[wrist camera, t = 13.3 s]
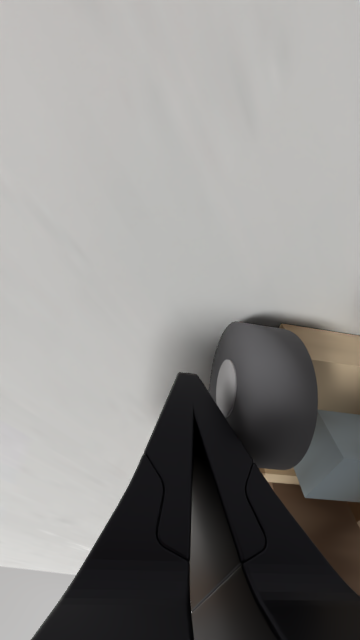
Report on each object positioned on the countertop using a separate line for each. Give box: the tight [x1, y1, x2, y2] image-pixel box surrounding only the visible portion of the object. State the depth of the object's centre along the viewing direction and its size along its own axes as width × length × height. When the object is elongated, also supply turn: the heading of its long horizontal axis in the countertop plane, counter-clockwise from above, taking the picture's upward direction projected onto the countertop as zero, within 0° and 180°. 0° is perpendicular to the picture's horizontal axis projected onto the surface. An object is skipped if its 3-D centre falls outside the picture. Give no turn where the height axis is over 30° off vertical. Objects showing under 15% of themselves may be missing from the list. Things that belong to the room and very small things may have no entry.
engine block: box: [268, 482, 360, 596], centre depth 15 cm, size 4×6×7 cm
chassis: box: [259, 323, 360, 528], centre depth 14 cm, size 14×21×5 cm
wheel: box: [209, 322, 318, 470], centre depth 9 cm, size 2×5×5 cm, turn 170°
